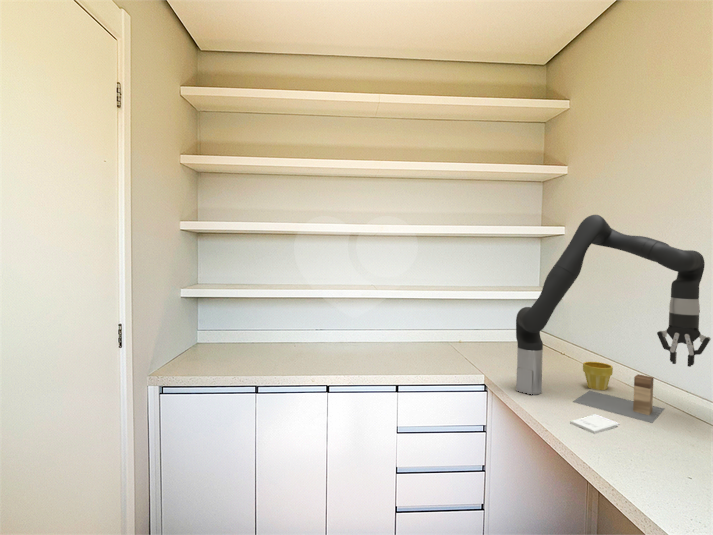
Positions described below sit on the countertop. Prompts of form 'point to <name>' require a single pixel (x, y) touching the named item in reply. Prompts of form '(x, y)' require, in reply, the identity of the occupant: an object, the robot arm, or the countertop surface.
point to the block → (643, 394)
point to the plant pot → (597, 374)
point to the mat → (616, 406)
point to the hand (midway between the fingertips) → (681, 364)
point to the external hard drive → (595, 423)
